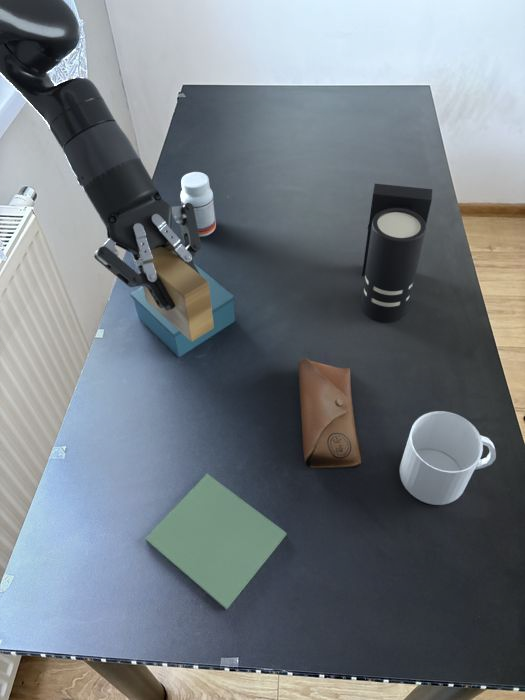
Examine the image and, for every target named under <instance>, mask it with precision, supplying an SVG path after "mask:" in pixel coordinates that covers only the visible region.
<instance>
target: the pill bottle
mask: <svg viewBox="0 0 525 700" xmlns="http://www.w3.org/2000/svg"><path fill="white" fill-rule="evenodd" d="M180 180H181V181H180V183H181V189H182V190H181V191H180V201H181V202H180V203H181V206H183V205H185V204H186V203H191V204H192V205H193V207H194V212H195V218H196V223H197V228H198V233H199V238H200V237H202V238H203V237H207V236H209V235H211V234H212V233H213V232H214V231H215V230H216V227H217V221H216V212H215V203H214V193H213V190H212V188H211V187H210V178H209V176H208V175H207V174H205V173H203V172H201V171H192V172H188V173H186V174H184V175H183V176H182V178H181V179H180Z"/></svg>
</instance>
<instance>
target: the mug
mask: <svg viewBox="0 0 525 700" xmlns="http://www.w3.org/2000/svg"><path fill="white" fill-rule="evenodd" d="M484 446H486V447H487V449H488V450H489V452H488V454H487V456H486V457H484V458H482V456H483V452H484ZM496 458H497V451H496V448H495V444H494V443H493V441H492V440H491V439H490V438H489V437H488V436H484V435H481V434H480V432H479V430H478V429H477V428H476V426H475V425H474V424H473V423H471V422H470V421H469V420H468V419H466V418H465V417H463V416H461V415H459V414H457V413H454V412H451V411H445V410H435V411H430V412H427V413H424V414H422V415H421V416H419V417H418V418H417V419H416V420H415V421H414V422H413V424H412V426H411V429H410V431H409V435H408V437H407V440H406V445H405V448H404V451H403V453H402V457H401V461H400V464H399V477H400V481H401V483H402V485H403V486H404V488H405V490H406V491H407V492H408V493H409V494H410V495H412V496H413V497H414V498H415V499H416V500H419V501H420V502H423V503H425V504H429V505H434V506H443V505H448V504H451V503H453V502H454V501H456V500H458V499H459V498H460V497H461V496H462V495H463V494H464V492H465V489H466V487H467V485H468V483H469V481H470V480H471V477H472V476H473V473H474V472H475V470H480V469H484V468H486V467H489V466H491V465H493V463H494V462H495V460H497V459H496Z"/></svg>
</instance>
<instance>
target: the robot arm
mask: <svg viewBox="0 0 525 700" xmlns="http://www.w3.org/2000/svg"><path fill="white" fill-rule="evenodd" d="M80 37H81V29H80V24H79V21H78V19H77V16H76V14H75V13H74V11H73V9H72V8H71V7H70V6H69V4H68V3H67V2H66V1H65V0H0V75H1V76H2V77H3V78H4V79H5V80H6V81H7V82H8V83H9V84H10V85H11V86H12V87H13V88H14V89H15V90H16V91H17V92H18V93H19V94H20V95H21V96H22V97H23V98H24V99H25V100H26V101H27V102H28V103H29V105H30V106H32V108H33V109H34V110H35V111H36V112H37V113H38V114H39V115H40V116H41V118H42V119H43V120H44V121H45V124H47V126H48V128H49V130H50V131H51V133H52V134H53V136H54V138H55V140H56V142H57V143H58V144H59V145H58V146H60V148H61V149H62V151H63V153H64V155H65V158H66V160H67V162H68V164H69V167H70V169H71V172H72V173H73V175H74V176H75V177H76V181H77V184H78V185H79V186H80V187H81V188H82V189H83V191H84V193H85V194H86V196H87V198H88V199H89V201H90V203H91V205H92V206H93V208H94V210H95V211H96V213H97V215H98V216H99V218H100V219H101V221H102V223H103V224H104V226H105V229H106V235H107V236H106V237H107V240H106V242H104V244H103V245H102V246H100V247H99V248H98V249H97V250H96V251H95V252H94V253H93V257H94V259H95V260H96V261H97V262H98V263H100V264H101V265H102V266H103V267H105V268H106V269H107V270H108V271H109V272H111V274H113V275H114V276H115V277H116V278H118V279H119V280H120V281H121V282H123V283H124V284H125V285H126V286H128V288H135V287H143V286H145V287H147V289H148V290H149V292H150V294H151V295H152V297H153V298H154V300H155V302H156V304H157V305H158V306H159V307H160V308H165V310H166V311H168V310H171V309H172V308H174V307H175V303H174V302H173V300H172V298H171V297H170V295H169V293H168V292H167V290H166V288H165V286H164V285H163V283H162V281H161V280H158V279H157V274H156V271H155V268H154V265H153V257H152V254H151V251H152V250H153V249H155V248H159V247H163V248H164V249H166V250H168V251H171V252H173V253H174V254H175V255H176V256H178V257H179V258H180V259H181V260H182V261H184V262H185V263H186V264H187V265H189V266H190V267H191V268H192V269H194V270H195V271H196V272H197V273H198V274H200V273H199V272H198V270H197V268H196V266H195V265H196V264H195V262H194V260H193V259H194V256H195V255H196V254H197V253H198V252H199V251H200V250H201V249H202V245H201V244H202V243H201V238H200V237H199V233H198V228H197V223H196V218H195V212H194V207H193V205H192V204H191V203H186V204H185V205H183V206H182V205H175V206H174V205H173V206H171V205H170V204H169V203H168V201H165V199H163V198H162V197H161V194H160V192H159V190H158V188H157V186H156V184H155V182H154V181H153V179H152V177H151V175H150V174H149V172H148V170H147V169H146V166H145V164H144V163H143V161H142V159H141V158H140V156H139V154H138V153H137V150H136V149H135V148H134V146H133V144H132V142H131V141H130V139H129V137H128V136H127V135H126V133H125V132H124V130H123V129H122V128H121V127H120V125H119V124H118V122H117V120H116V118H115V117H114V115H113V113H112V111H111V110H110V108H109V106H108V104H107V103H106V101H105V99H104V97H103V96H102V94H101V92H100V90H99V89H98V88H97V86H96V85H95V83H94V82H93V81H91V80H90V79H89V78H87V77H82V76H77V77H71V78H69V79H66V80H63V81H61V82H59V83H57V84H56V83H55V82H54V81H53V80H52V78H51V77H50V74H49V73H50V72H51V71H52V70H54V68H56V67H57V66H58V65H59V64H61V63H62V62H63V61H64V60H65V59H67V58H68V57H69V56H70V55H71V54H72V53H73V52H74V51H75V50H76V48H77V47H78V45H79V42H80ZM173 218H174V220H175V222H176V224H178V225H179V226H180V231H181V232H180V233H181V236H182V240H181V239H180V238H179V237H178V235H177V234H176V233H175V232H174V231H173V229H172V223H173V221H172V220H173ZM182 241H183V244H182ZM116 246H117V247H119V248H121V249H123V250H125V251H126V252H129V253H130V254H131V257H132V260H133V263H134V266H135V268H137V271H138V272H137V271H135V270H134V269H133V268H132V267H131V266H129V264H128V263H126V262H125V261H124V260H122V259H121V258H120V257H119V256H120V252H119V250H117V248H116ZM194 264H195V265H194Z"/></svg>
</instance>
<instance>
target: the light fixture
mask: <svg viewBox="0 0 525 700" xmlns="http://www.w3.org/2000/svg"><path fill="white" fill-rule="evenodd" d="M432 201H433V189H432V188H425V187H414V186H413V187H412V186H406V185H405V186H403V185H392V184H384V183H374V184H373V191H372V198H371V205H370V213H369V221H368V224H367V226H366V228H367V235H366V242H365V249H364V258H363V265H362V272H361V276H362V277H363V286H362V293H361V299H360V308H361V311H362V312H363V313H364V315H365V316H366V317H368V318H369V319H371V320H373V321H375V322H379V323H394V322H397V321H400V320H401V319H403V318H404V317H406V315H407V313H408V309H409V304H410V301H411V296H412V293H413V288H414V283H415V278H416V275H417V270H418V265H419V261H420V258H421V257H420V256H421V252H422V248H423V244H424V240H425V235H426V230H427V223H428V218H429V214H430V209H431V206H432Z"/></svg>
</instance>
